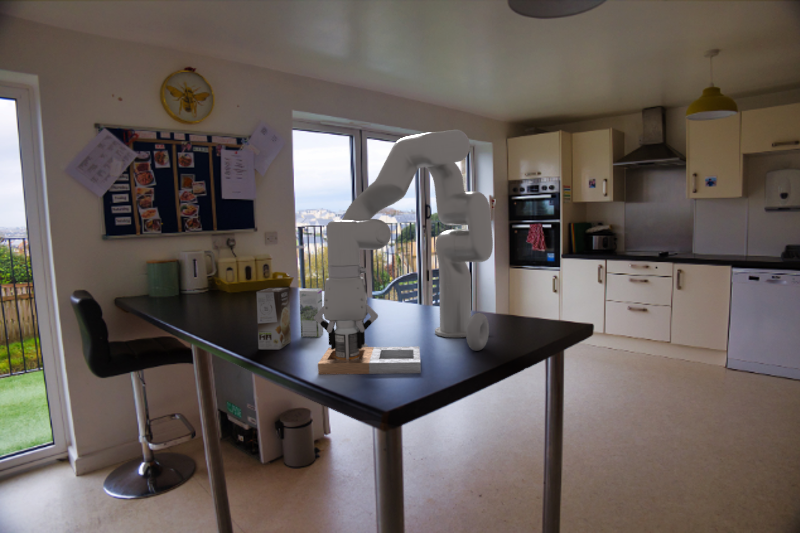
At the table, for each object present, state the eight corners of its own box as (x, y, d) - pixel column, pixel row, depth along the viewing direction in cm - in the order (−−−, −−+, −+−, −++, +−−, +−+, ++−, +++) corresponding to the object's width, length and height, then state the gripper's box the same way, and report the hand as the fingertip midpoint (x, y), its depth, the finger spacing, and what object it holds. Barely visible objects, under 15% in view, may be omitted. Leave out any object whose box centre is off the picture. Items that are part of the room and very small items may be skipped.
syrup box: (323, 333, 148) (322, 287, 147) (318, 337, 142) (317, 290, 141) (306, 333, 148) (304, 287, 147) (300, 337, 143) (298, 290, 141)
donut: (476, 355, 119) (476, 316, 118) (464, 354, 121) (463, 315, 120) (491, 346, 127) (491, 310, 127) (479, 345, 129) (479, 309, 128)
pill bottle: (356, 355, 116) (355, 315, 116) (361, 361, 111) (360, 320, 110) (333, 357, 115) (332, 317, 114) (337, 364, 109) (336, 322, 109)
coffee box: (280, 349, 129) (278, 291, 127) (258, 349, 129) (255, 291, 128) (291, 341, 138) (289, 287, 136) (270, 341, 138) (268, 287, 137)
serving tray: (419, 356, 119) (419, 346, 119) (420, 373, 106) (420, 362, 105) (329, 357, 120) (328, 347, 120) (318, 374, 106) (318, 363, 106)
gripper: (381, 270, 115) (383, 343, 116) (311, 271, 115) (314, 344, 117) (379, 273, 107) (382, 351, 109) (304, 275, 108) (307, 352, 109)
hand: (347, 347), depth 113 cm, fingers closed on pill bottle, 5 cm apart
